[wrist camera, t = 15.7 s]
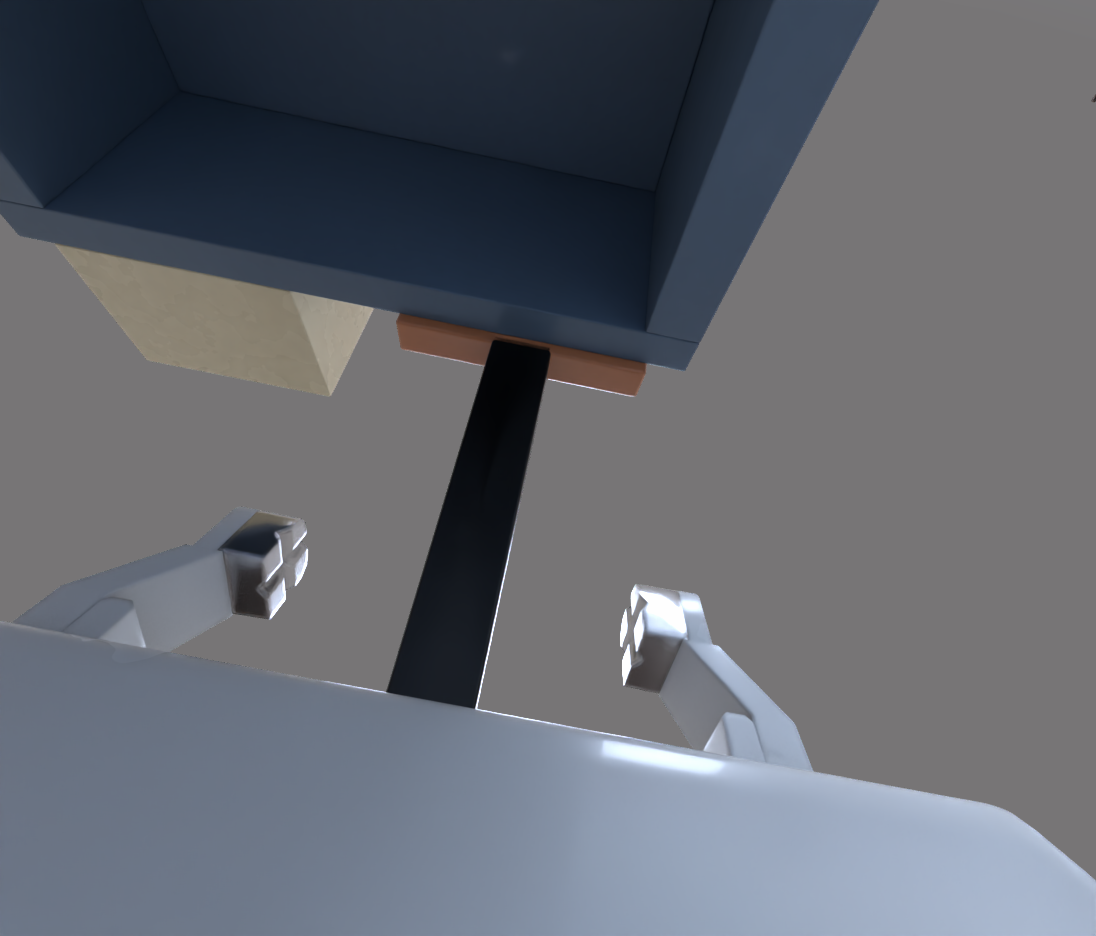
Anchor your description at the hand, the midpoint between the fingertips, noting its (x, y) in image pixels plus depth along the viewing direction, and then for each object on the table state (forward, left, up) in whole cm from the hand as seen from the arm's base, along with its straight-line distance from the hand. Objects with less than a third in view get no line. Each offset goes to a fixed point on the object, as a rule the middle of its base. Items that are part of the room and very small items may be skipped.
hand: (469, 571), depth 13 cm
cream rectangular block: (+15, +2, -1) cm, 15 cm away
